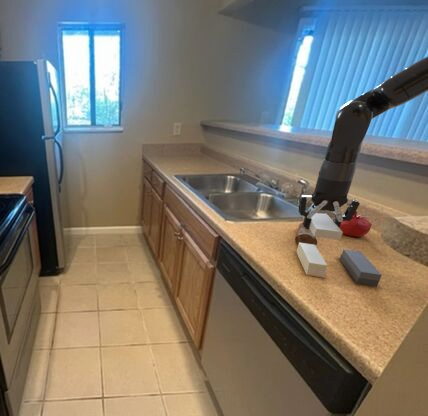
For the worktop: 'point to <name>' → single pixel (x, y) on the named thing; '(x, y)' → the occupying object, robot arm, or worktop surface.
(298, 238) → the bread
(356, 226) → the pomegranate
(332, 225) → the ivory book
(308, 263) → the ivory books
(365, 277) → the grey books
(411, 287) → the worktop surface
